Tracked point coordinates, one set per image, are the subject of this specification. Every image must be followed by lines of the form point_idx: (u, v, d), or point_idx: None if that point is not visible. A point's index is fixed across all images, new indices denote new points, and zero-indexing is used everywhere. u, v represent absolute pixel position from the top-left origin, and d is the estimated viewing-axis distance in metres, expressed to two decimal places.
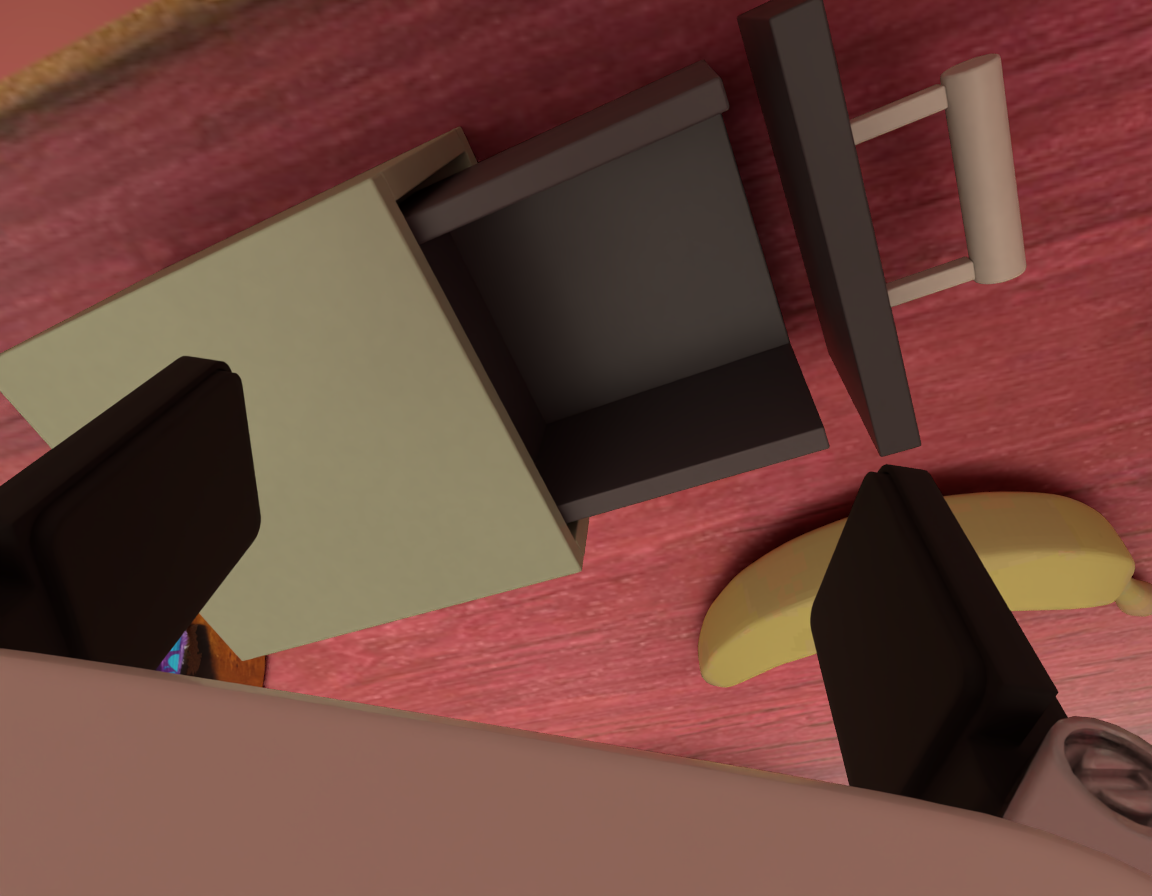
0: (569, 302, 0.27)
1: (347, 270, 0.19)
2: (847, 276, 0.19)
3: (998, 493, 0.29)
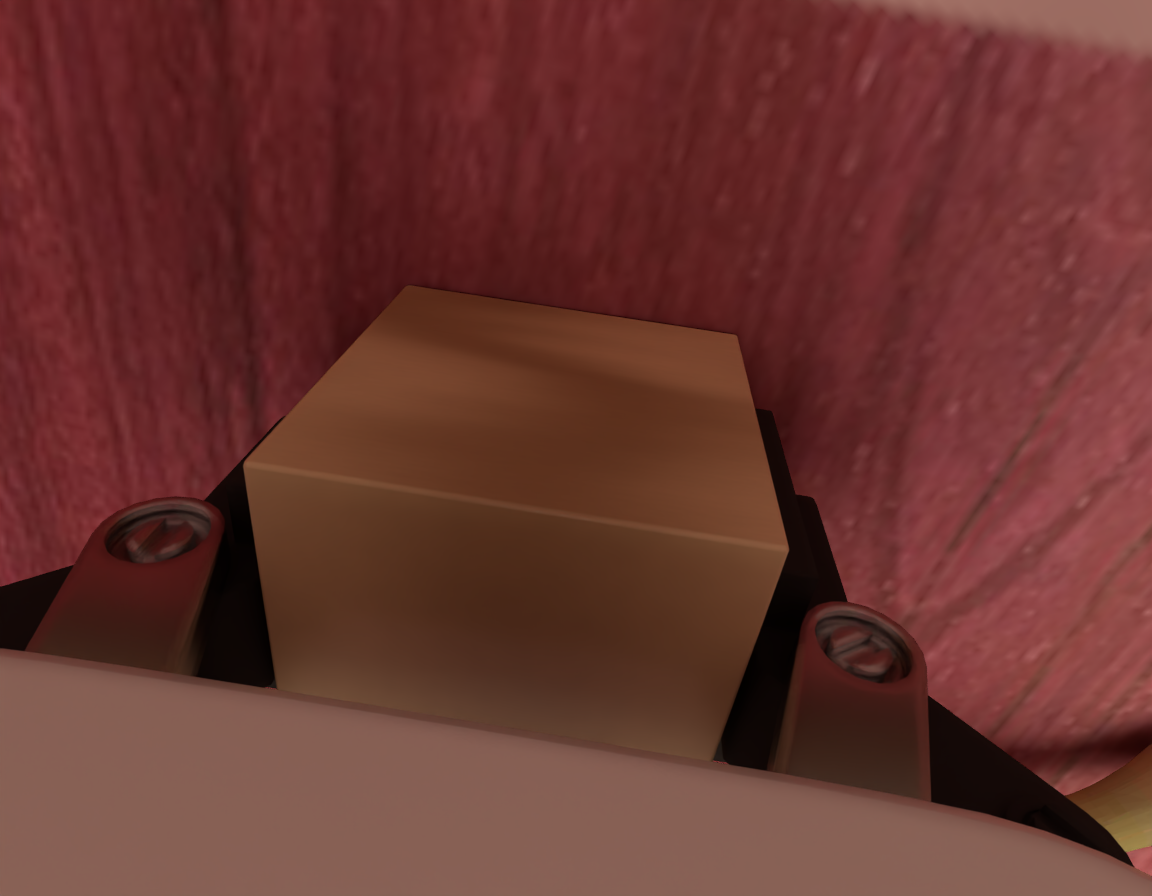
0: None
1: None
2: None
3: None
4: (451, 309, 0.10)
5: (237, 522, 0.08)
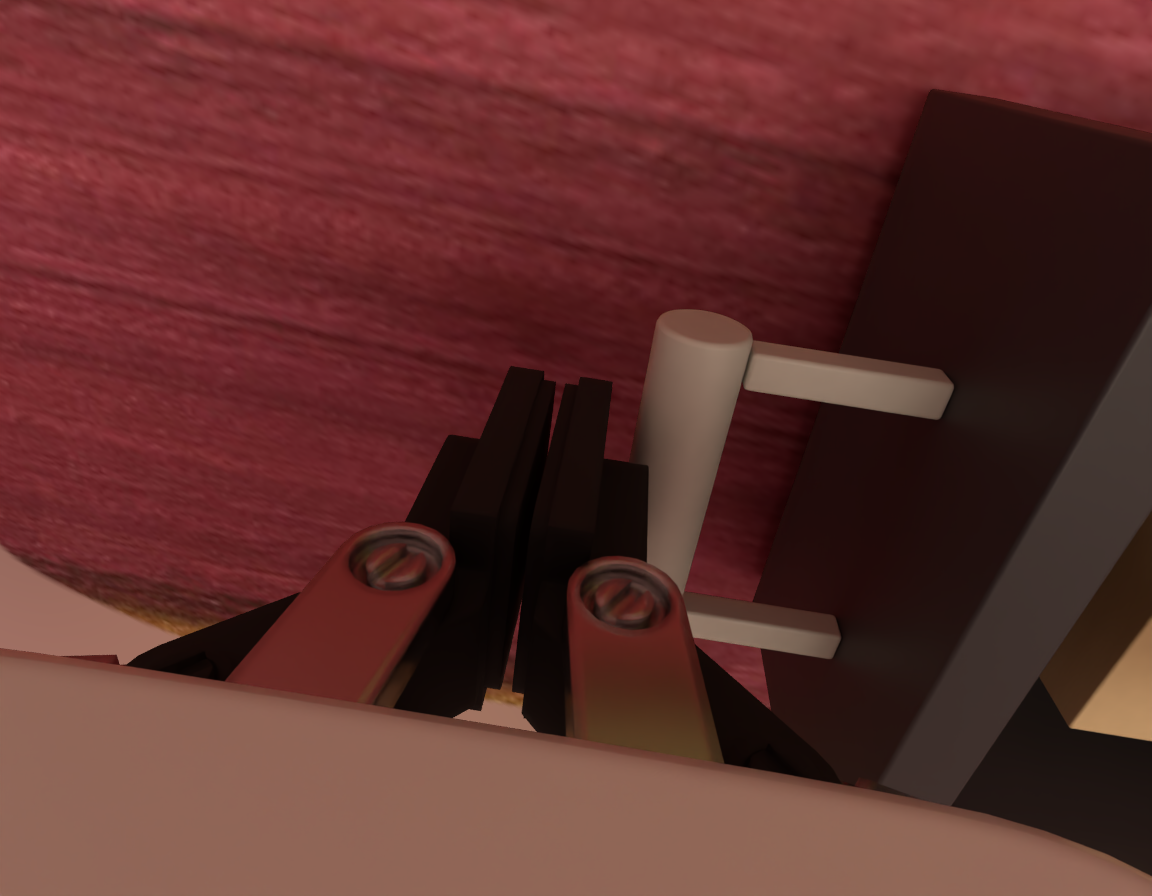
0: None
1: None
2: (1023, 663, 0.09)
3: None
4: None
5: (455, 547, 0.08)
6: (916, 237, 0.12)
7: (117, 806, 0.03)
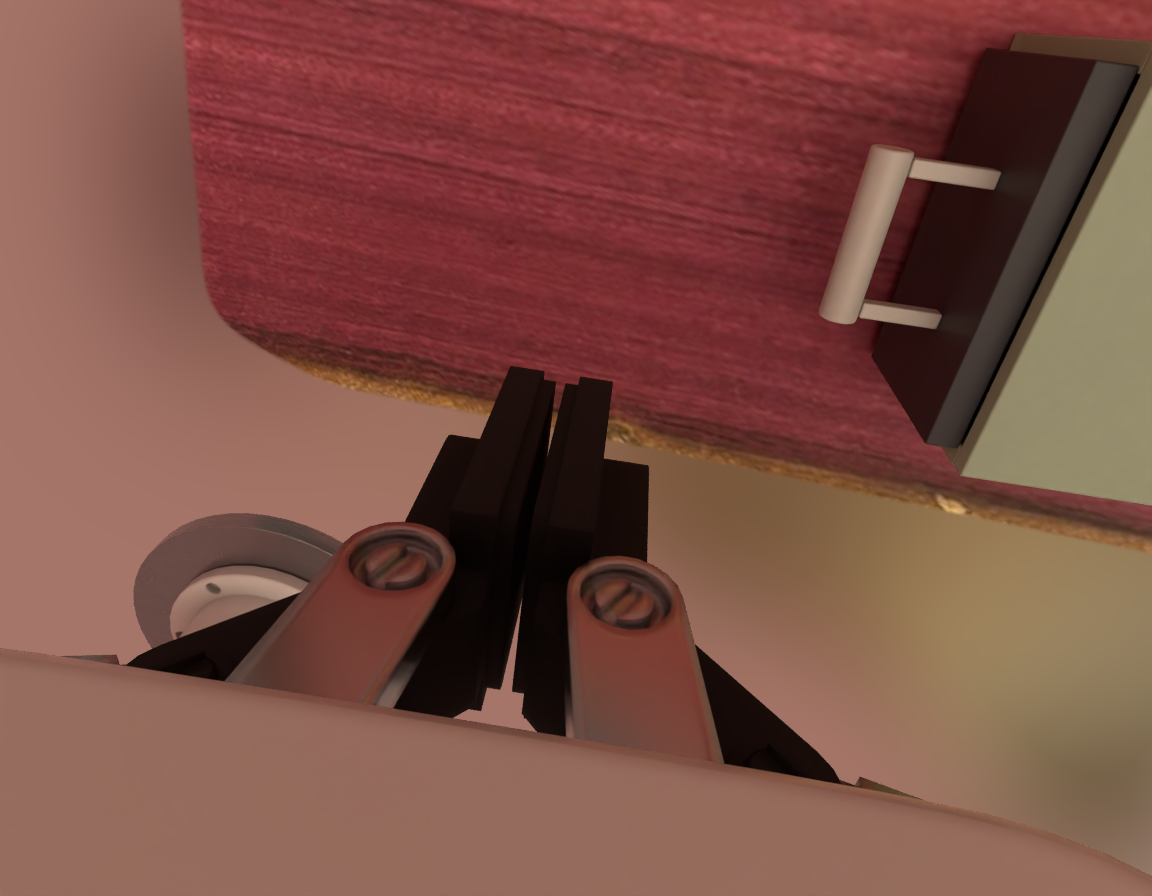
0: None
1: (1036, 442, 0.25)
2: (1030, 274, 0.23)
3: None
4: None
5: (455, 547, 0.08)
6: (980, 118, 0.26)
7: (117, 806, 0.03)
